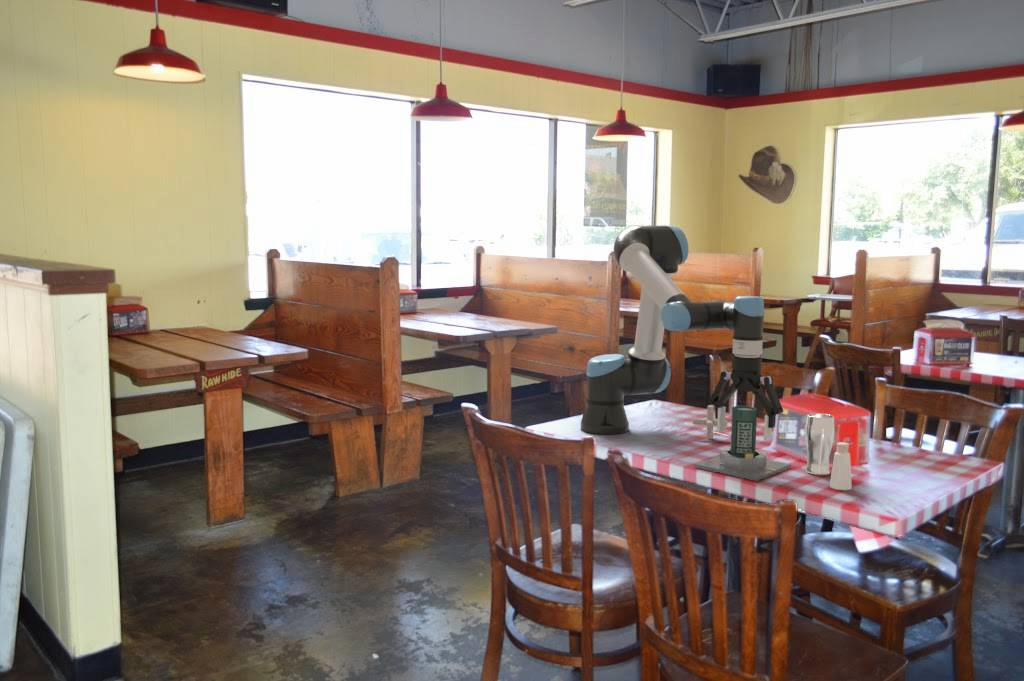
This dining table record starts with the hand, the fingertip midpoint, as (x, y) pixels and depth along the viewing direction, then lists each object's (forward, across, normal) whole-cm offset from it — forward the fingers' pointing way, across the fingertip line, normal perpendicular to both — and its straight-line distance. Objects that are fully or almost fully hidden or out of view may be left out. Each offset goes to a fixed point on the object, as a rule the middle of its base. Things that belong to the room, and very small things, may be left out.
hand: (743, 435), depth 227 cm
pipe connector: (+9, -24, +23) cm, 34 cm away
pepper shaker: (+9, +26, +1) cm, 27 cm away
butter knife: (+9, -34, +33) cm, 48 cm away
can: (+8, 0, 0) cm, 8 cm away
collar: (+9, 0, 0) cm, 9 cm away
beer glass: (+9, +16, +10) cm, 21 cm away
